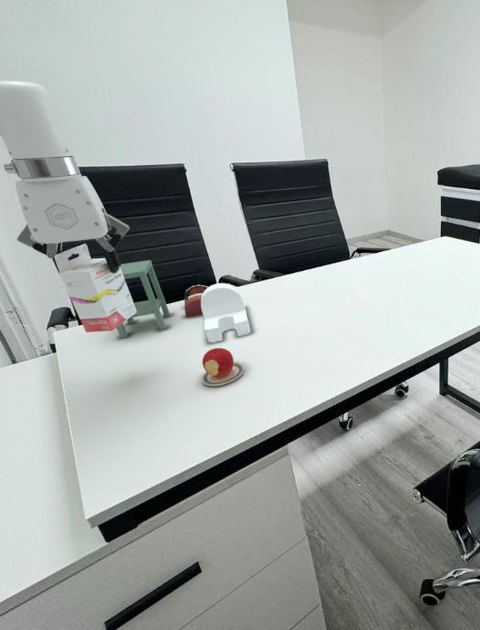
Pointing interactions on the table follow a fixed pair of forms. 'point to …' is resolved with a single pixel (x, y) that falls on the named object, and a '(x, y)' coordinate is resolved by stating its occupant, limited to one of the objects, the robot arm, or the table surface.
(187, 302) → the teeth model
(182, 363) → the table surface
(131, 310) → the ink cartridge box
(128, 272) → the high shelf
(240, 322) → the white phone stand
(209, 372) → the apple
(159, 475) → the table surface
